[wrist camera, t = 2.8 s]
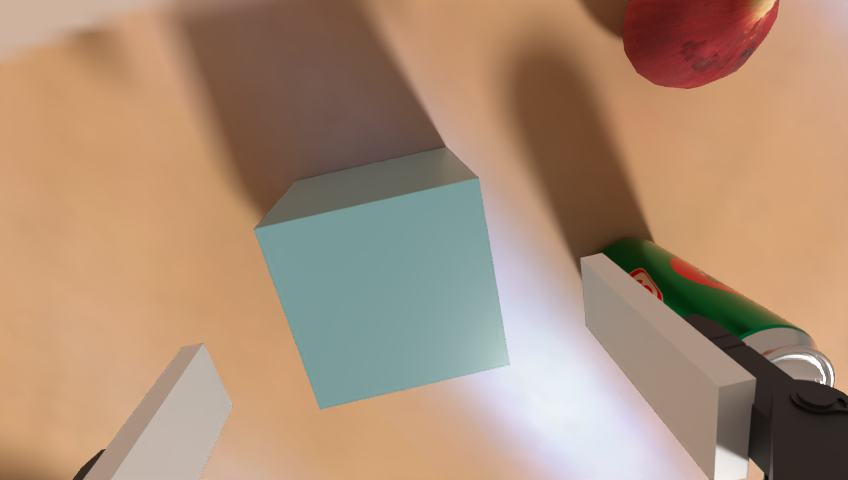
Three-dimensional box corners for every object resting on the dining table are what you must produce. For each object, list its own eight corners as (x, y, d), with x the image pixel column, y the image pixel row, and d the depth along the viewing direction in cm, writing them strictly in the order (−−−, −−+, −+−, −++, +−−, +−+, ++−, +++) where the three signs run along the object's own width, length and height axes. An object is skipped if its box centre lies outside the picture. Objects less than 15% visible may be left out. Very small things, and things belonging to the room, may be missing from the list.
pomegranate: (706, 63, 24) (851, 54, 17) (608, 103, 25) (708, 113, 17) (689, -52, 22) (846, -120, 15) (582, -6, 23) (683, -51, 15)
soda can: (585, 239, 27) (730, 349, 16) (663, 229, 28) (859, 331, 16) (583, 311, 29) (711, 455, 18) (656, 301, 29) (829, 437, 18)
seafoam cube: (337, 313, 27) (319, 409, 19) (295, 180, 24) (253, 229, 16) (471, 282, 27) (509, 364, 19) (446, 146, 24) (478, 177, 16)
